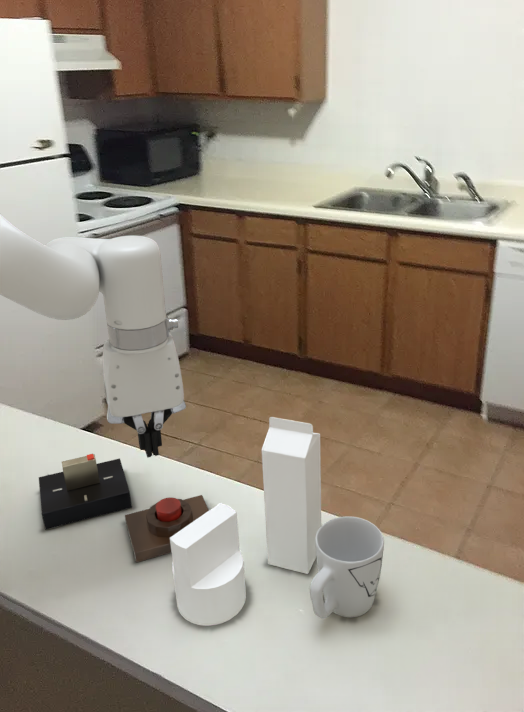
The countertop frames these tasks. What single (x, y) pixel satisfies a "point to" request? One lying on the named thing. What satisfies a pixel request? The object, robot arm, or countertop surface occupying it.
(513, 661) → the countertop surface
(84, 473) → the knob
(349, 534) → the mug
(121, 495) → the panel
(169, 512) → the timer button
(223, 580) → the cylinder with rectangular tab
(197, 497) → the brown button base
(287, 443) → the milk
